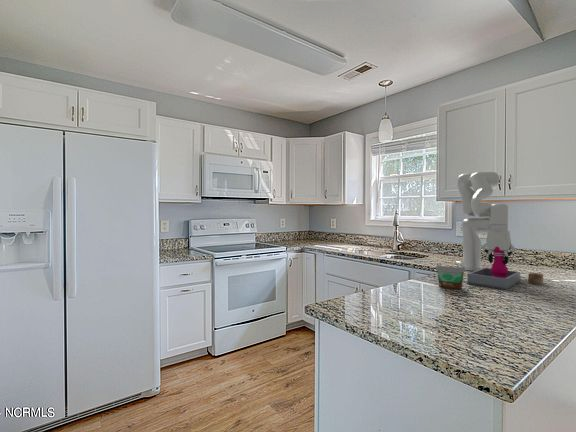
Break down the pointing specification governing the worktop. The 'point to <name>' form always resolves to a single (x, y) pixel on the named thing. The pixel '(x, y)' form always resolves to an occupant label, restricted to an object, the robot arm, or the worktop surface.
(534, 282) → the wooden block
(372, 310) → the worktop surface
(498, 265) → the pepper mill
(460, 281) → the food container
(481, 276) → the tray
